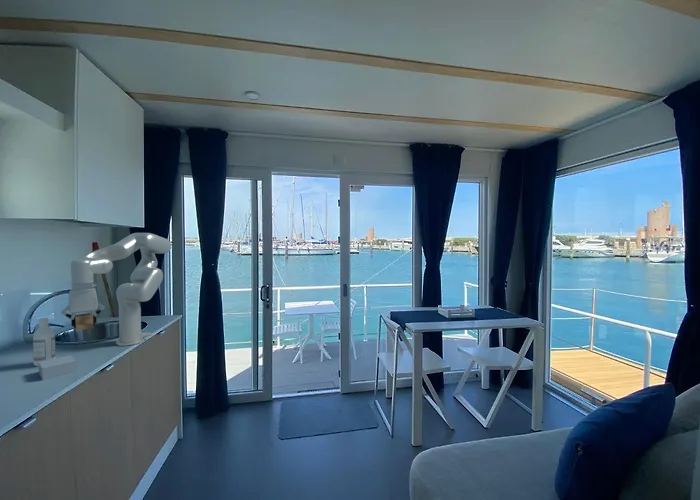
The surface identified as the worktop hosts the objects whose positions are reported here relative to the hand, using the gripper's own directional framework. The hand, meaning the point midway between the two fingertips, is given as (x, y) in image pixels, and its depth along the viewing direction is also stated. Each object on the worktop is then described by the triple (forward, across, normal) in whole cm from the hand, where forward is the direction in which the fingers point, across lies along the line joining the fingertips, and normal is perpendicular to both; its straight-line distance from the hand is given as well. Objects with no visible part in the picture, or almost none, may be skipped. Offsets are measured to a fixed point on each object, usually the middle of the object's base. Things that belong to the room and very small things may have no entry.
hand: (84, 325), depth 145 cm
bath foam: (+16, +14, -6) cm, 21 cm away
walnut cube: (+1, 0, 0) cm, 1 cm away
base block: (+15, +10, +12) cm, 22 cm away
